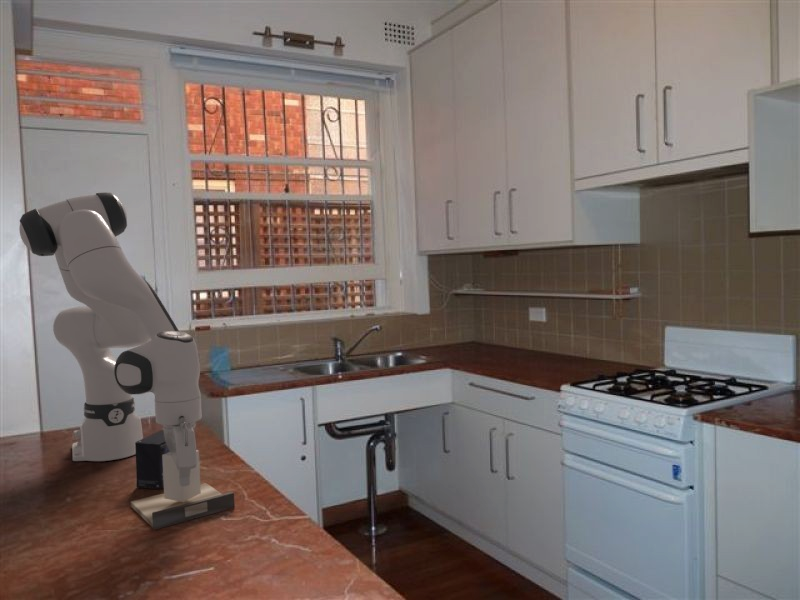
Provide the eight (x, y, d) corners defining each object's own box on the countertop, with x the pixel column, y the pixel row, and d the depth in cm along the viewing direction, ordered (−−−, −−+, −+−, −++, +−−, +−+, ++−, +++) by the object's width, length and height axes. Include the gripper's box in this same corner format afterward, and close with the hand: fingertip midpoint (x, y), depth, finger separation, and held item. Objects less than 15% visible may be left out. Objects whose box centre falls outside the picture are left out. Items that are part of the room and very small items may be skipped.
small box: (161, 490, 141) (159, 443, 140) (135, 488, 142) (132, 442, 141) (187, 473, 151) (185, 430, 150) (162, 472, 152) (160, 429, 152)
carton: (164, 498, 129) (162, 454, 129) (183, 489, 134) (181, 447, 133) (183, 501, 127) (181, 457, 126) (201, 492, 132) (199, 450, 131)
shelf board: (130, 506, 132) (130, 492, 132) (206, 487, 142) (205, 474, 142) (155, 530, 120) (154, 514, 120) (235, 507, 130) (234, 493, 130)
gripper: (203, 421, 121) (206, 492, 122) (187, 400, 140) (190, 461, 141) (168, 425, 118) (171, 498, 119) (156, 403, 137) (160, 466, 138)
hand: (181, 478), depth 130 cm, fingers closed on carton, 7 cm apart
